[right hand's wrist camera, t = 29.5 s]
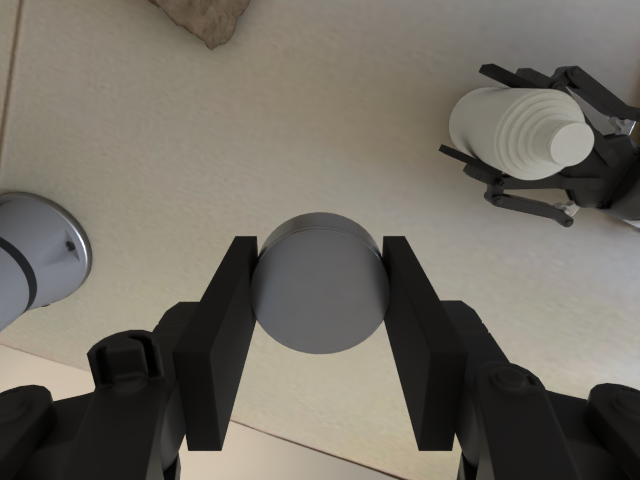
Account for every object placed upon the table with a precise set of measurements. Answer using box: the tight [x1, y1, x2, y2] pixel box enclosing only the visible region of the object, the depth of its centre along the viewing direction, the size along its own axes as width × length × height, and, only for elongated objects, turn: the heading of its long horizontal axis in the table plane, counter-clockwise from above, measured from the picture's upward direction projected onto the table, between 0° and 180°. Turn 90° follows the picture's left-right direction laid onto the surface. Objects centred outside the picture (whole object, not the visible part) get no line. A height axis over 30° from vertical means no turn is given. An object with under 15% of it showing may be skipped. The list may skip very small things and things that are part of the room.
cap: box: [250, 212, 390, 354], centre depth 14 cm, size 5×5×2 cm
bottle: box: [449, 87, 594, 180], centre depth 39 cm, size 8×8×18 cm
